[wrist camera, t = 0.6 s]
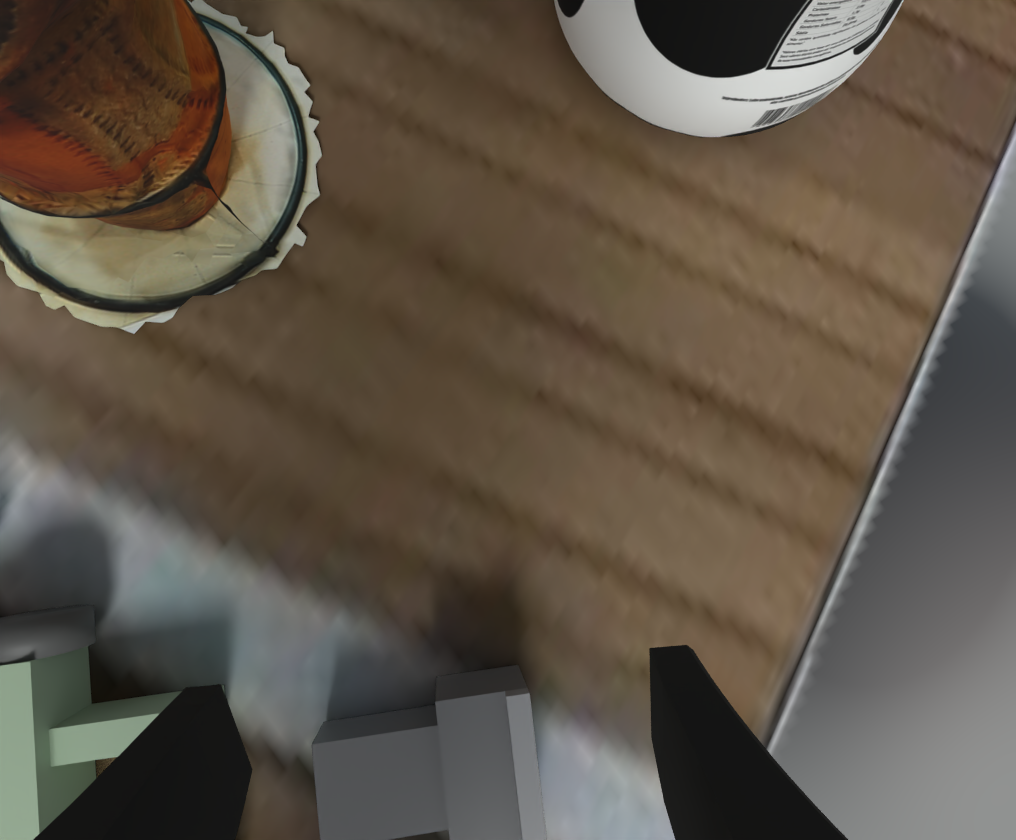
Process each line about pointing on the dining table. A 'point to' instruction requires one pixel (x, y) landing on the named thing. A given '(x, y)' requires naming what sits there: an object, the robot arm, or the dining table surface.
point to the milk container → (721, 56)
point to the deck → (55, 717)
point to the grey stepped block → (435, 766)
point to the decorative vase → (146, 154)
